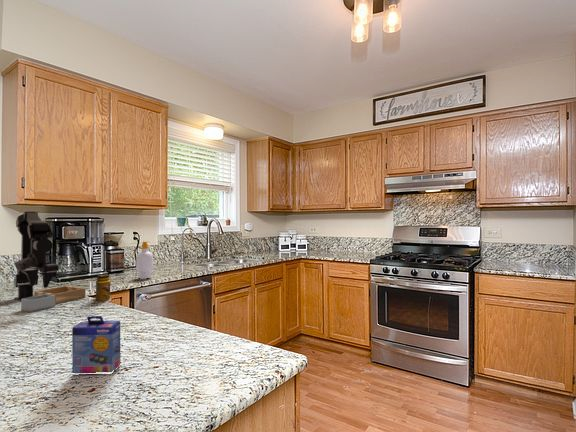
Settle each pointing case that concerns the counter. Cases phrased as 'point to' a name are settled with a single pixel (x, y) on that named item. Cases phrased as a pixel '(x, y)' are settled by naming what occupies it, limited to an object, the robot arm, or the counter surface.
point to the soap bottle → (144, 262)
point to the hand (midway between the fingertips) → (38, 286)
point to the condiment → (102, 289)
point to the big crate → (63, 293)
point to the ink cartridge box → (95, 346)
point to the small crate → (37, 303)
